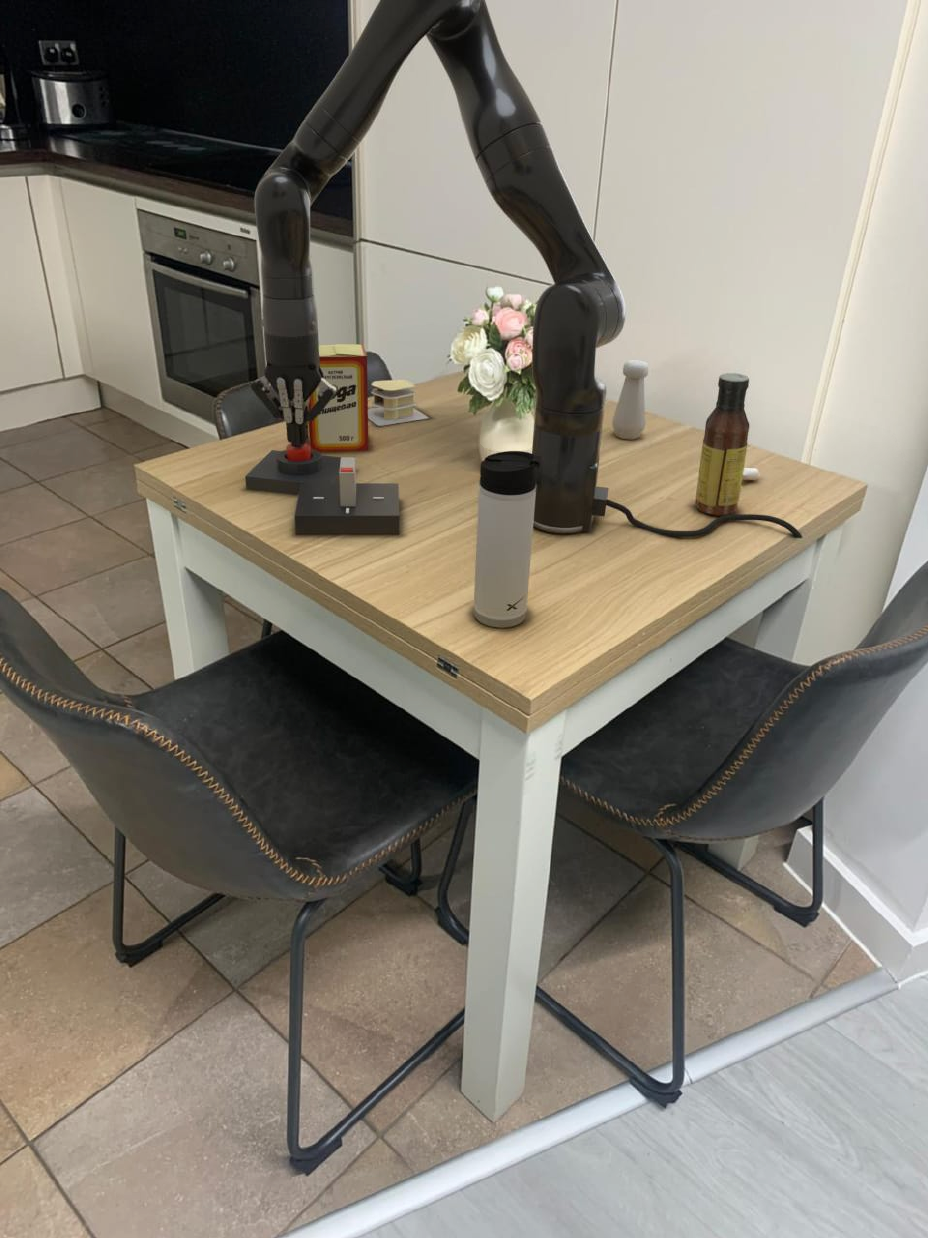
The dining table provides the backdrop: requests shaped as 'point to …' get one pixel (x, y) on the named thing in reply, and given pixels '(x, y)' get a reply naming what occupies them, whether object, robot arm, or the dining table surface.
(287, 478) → the red button base
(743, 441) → the sauce bottle
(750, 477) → the small white plastic part
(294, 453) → the power button
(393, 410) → the stacked layers on plate
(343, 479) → the grey block
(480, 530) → the travel mug
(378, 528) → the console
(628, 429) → the salt shaker
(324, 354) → the baking soda box
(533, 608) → the dining table surface
